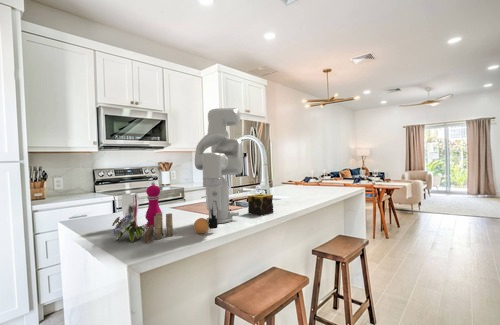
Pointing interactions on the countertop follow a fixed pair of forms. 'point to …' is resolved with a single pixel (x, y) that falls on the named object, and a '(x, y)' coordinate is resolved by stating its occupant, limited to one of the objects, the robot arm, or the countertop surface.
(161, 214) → the back pin right
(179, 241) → the countertop surface
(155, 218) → the back pin left
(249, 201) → the dark textured cube
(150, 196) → the pepper mill
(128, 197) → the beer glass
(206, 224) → the ball
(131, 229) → the passion flower
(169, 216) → the front pin
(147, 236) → the wall
